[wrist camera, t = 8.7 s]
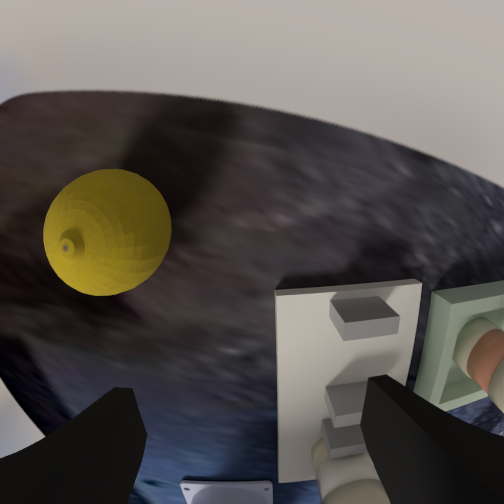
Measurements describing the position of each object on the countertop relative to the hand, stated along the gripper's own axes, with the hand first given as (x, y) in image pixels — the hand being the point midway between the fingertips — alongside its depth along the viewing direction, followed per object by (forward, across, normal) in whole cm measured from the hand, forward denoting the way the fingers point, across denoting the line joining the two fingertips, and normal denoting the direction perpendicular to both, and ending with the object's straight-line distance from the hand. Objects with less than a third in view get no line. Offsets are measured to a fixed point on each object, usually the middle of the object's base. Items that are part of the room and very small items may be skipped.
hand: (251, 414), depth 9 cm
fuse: (+9, -6, +12) cm, 16 cm away
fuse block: (+10, -6, +8) cm, 14 cm away
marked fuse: (+9, -16, +5) cm, 20 cm away
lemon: (+10, +6, -5) cm, 13 cm away
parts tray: (+10, -16, +5) cm, 20 cm away
